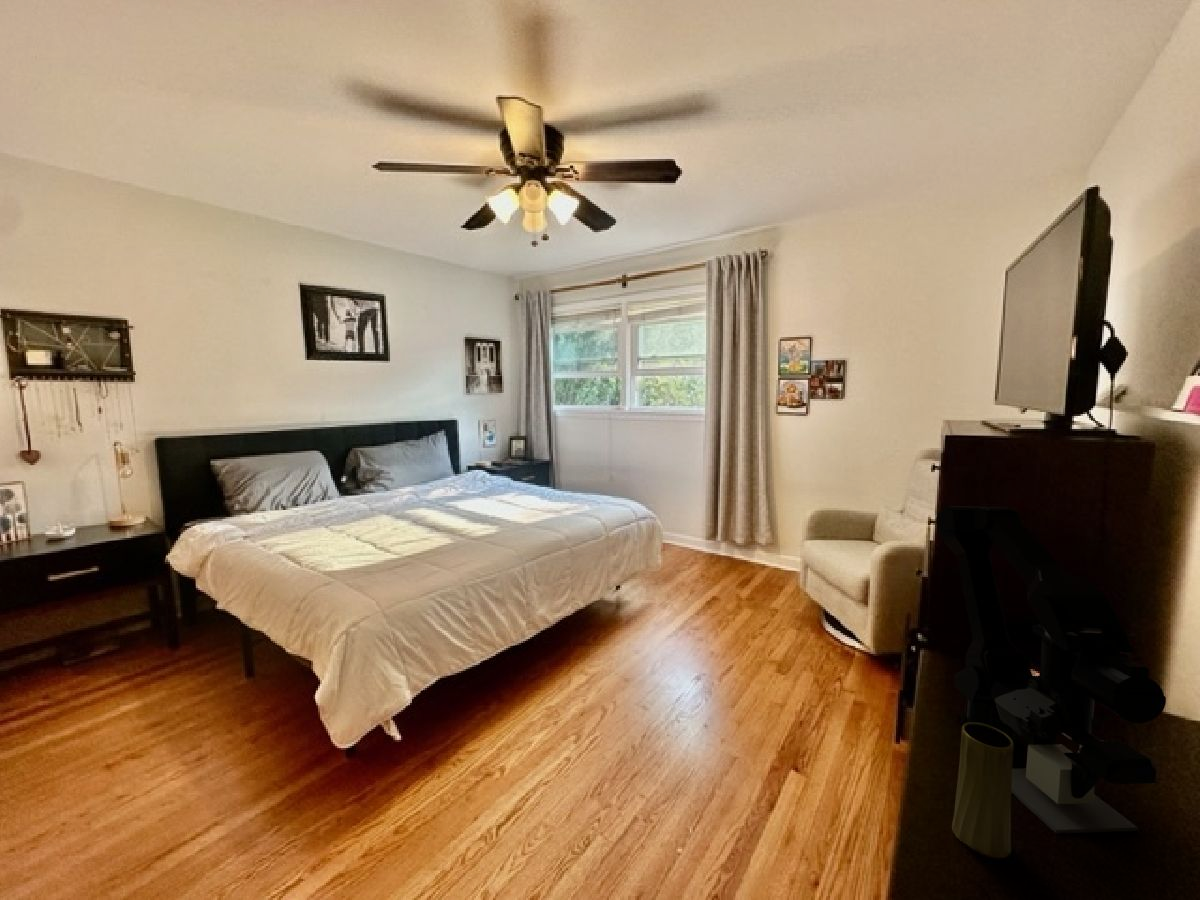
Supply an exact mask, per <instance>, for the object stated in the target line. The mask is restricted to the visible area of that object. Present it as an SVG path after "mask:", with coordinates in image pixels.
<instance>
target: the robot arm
mask: <svg viewBox="0 0 1200 900" xmlns="http://www.w3.org/2000/svg"><path fill="white" fill-rule="evenodd" d="M935 523H936V527H937V529H938V530H939V533H940V537H941V539H942V540H941V541H942V542H943V544H945V546H946V547H947V548H949V550H950V551H951V552H952V553H953V554H954V555H955V558H956V564H957V567H958V572H959V577H960V581H961V582H960V584H961V586H962V588H961V589H962V592H963V598H964V603H965V607H966V611H967V615H968V616H967V617H968V622H969V628H970V631H971V636H972V641H971V642H970V645H969V647H968V649H967V651H966V652H965V655H964V656H965V657H964V658H965V666H966V667H964V668H963V669H961V670H959V671H958V672H957V673H955V674H953V679H954V687H955V689H956V690H957V691H959V693H960V694H961V695H962V696H964V697H965V702H964V703H965V707H964V715H962V716H960V715H959V716H956V717H955V719H956V721H957V722H958V723H960V725H962V726H963V725H964V724H965V723H969V722H974V723H982V724H986V725H989V726H992V727H994V728H997V729H999V730H1001V731H1002V732H1004V733H1006V734H1007V735H1008V736H1009V737H1010V738H1011V739H1012V740H1013V743H1021V738H1020V737H1019V736H1021V737H1023V738H1025V739H1027V741H1028V745H1046V744H1056V742H1057V738H1058V736H1059V735H1060V734H1062V736H1063V735H1064V736H1065V737H1066V738H1067V739H1069V740H1070V741H1074V742H1076V743H1077V744H1078V745H1079V748H1078V749H1077V752H1073V753H1064V755H1065V756H1066V757H1067V758H1068V759H1069V760H1070V761H1071V763H1072V774H1071V790H1072V796H1073V797H1074V798H1083V797H1084V796H1085V795H1086V794H1087V793H1088V792H1089V791H1090V790H1091V789H1092V788H1093V787H1094V786H1095V787H1096V785H1097V784H1098V783H1099V782H1100V781H1101V780H1102V779H1103V781H1105V782H1108V783H1110V784H1113V785H1131V784H1133V785H1135V784H1156V778H1157V766H1156V764H1155V763H1154V762H1153V761H1152V760H1151V759H1150V758H1148V757H1147V756H1145V754H1142V753H1141V752H1139V751H1138V750H1136V749H1134V748H1133V747H1132V746H1129V745H1128V744H1126V743H1125V742H1123V741H1122V740H1105V739H1104V740H1103V739H1100V738H1098V737H1097V736H1095V735H1094V734H1092V731H1100V730H1102V725H1103V723H1102V722H1101V721H1100V720H1098V719H1096V718H1095V717H1094V714H1095V713H1094V712H1095V711H1094V710H1095V702H1098V703H1099V704H1101V706H1103V707H1104V708H1106V709H1108V710H1110V711H1111V712H1112V713H1114V714H1115V715H1117V716H1118V717H1120V718H1121V719H1123V720H1124V721H1127V722H1129V723H1133V724H1144V723H1148V722H1152V721H1153V720H1155V719H1157V718H1158V717H1159V716H1160V715H1161V714H1162V713H1163V711H1164V709H1165V708H1166V702H1167V697H1166V696H1165V694H1164V691H1163V688H1162V687H1161V686H1160V685H1159V684H1158V683H1157V681H1155V680H1153V679H1151V678H1149V673H1150V670H1149V668H1148V667H1147V666H1145V665H1143V664H1142V663H1139V662H1137V661H1133V660H1132V659H1129V658H1128V657H1126V656H1123V655H1121V654H1133V648H1132V646H1131V644H1130V642H1129V639H1130V638H1129V636H1128V634H1127V633H1126V631H1125V630H1124V628H1123V627H1122V625H1121V623H1120V620H1119V619H1118V617H1117V614H1116V612H1115V610H1114V608H1113V605H1112V603H1111V602H1110V601H1109V599H1108V598H1107V597H1106V596H1105V595H1104V594H1103V593H1102V592H1101V591H1100V590H1098V589H1097V588H1096V587H1094V585H1092V584H1091V583H1090V582H1089V581H1087V580H1085V579H1084V578H1081V577H1080V576H1078V575H1076V574H1074V573H1073V574H1072V573H1070V572H1069V571H1067V570H1065V568H1063V566H1061V565H1060V564H1059V563H1058V562H1057V560H1056V559H1055V558H1054V557H1053V556H1052V555H1051V554H1050V553H1049V552H1048V551H1047V550H1046V548H1045V547H1044V546H1043V544H1041V543H1040V541H1039V540H1038V539H1037V538H1036V537H1035V536H1034V534H1032V533H1031V531H1030V530H1029V529H1028V528H1027V527H1026V526H1025V525H1024V524H1023V522H1022V521H1021V520H1020V516H1019V514H1018V512H1017V511H1016V510H1015V509H1012V508H1010V507H1007V506H1006V507H1005V506H1004V507H1001V506H1000V507H997V506H996V507H994V506H991V507H990V506H981V505H980V506H979V505H978V506H977V505H976V506H975V505H973V506H972V505H970V506H969V505H968V506H967V505H945V506H944V507H943V508H942V509H941V510H940V511H939V512H938V513H937V515H936V519H935ZM994 546H996V547H997V549H998V550H999V552H1001V554H1002V555H1003V556H1004V558H1005V559H1006V560H1007V561H1008V562H1009V564H1010V566H1012V567H1011V568H1013V569H1014V570H1015V572H1016V573H1017V574H1018V576H1019V577H1020V578H1021V580H1022V581H1023V582H1024V584H1025V586H1026V587H1027V594H1026V600H1027V603H1028V604H1029V605H1028V606H1029V607H1030V609H1031V610H1032V611H1033V613H1034V615H1035V617H1036V618H1037V620H1038V622H1039V623H1037V624H1034V625H1032V626H1031V631H1032V632H1034V633H1035V634H1038V635H1039V636H1040V637H1041V638H1042V639H1041V649H1040V650H1041V651H1040V663H1039V665H1040V666H1039V675H1038V674H1037V675H1033V673H1032V670H1031V667H1030V666H1031V665H1030V658H1029V656H1028V655H1027V653H1026V652H1024V651H1019V650H1018V649H1017V648H1016V647H1015V646H1014V645H1013V644H1012V642H1011V641H1010V639H1009V635H1008V630H1007V626H1006V622H1005V617H1004V612H1003V608H1002V604H1001V598H1000V594H999V591H998V587H997V582H996V578H995V577H996V576H995V574H994V567H993V565H992V560H991V555H990V552H991V550H992V549H993V547H994ZM1076 633H1082V634H1083V633H1089V634H1100V633H1101V634H1103V636H1095V635H1094V636H1093V635H1092V636H1090V635H1078V634H1076ZM1014 731H1015V732H1016V734H1017V735H1016V734H1015V732H1014Z"/></svg>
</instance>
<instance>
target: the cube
mask: <svg viewBox="0 0 1200 900" xmlns="http://www.w3.org/2000/svg"><path fill="white" fill-rule="evenodd" d="M1064 753H1074V752H1073V751H1072V750H1071V749H1069V748H1068V747H1067V746H1065V745H1064V744H1062V743H1055V744H1046V745H1029V744H1028V745H1027V754H1026V755H1027V756H1026V767H1025V768H1026V778H1027V779H1029V780H1030V781H1031V782H1032V783H1033V784H1035V785H1036V786H1037V787H1038V788H1039V789H1040V790H1042V791H1043V792H1044V793H1045V794H1046V795H1048V796H1049V797H1050V798H1051V799H1052V800H1053V801H1055V802H1056V803H1057V804H1078V803H1093V800H1094V794H1095V789H1096V785H1095V786H1094V787H1093V788H1092V789H1091V790H1090V791H1089V792H1088V793H1087V794H1086V795H1085V796H1084V797H1083V798H1074V797H1073V796H1072V790H1071V774H1072V763H1071V761H1070V760H1069V759H1068V758H1067V757H1066V756H1065V755H1064Z"/></svg>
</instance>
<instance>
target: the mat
mask: <svg viewBox="0 0 1200 900" xmlns="http://www.w3.org/2000/svg"><path fill="white" fill-rule="evenodd" d="M1012 793H1013V794H1014V795H1015V796H1016V797H1017V800H1018V801H1020V803H1022V804H1023V805H1024V806H1025V807H1026V808H1027V809H1028V810H1030V811H1031V812H1032V814H1034V815H1035V816H1037V818H1039V820H1041V822H1043V824H1045V825H1046V826H1047V827H1049V828H1050V830H1051V831H1052V832H1054V833H1055V834H1077V833H1078V834H1082V833H1083V834H1085V833H1112V832H1137V831H1138V830H1139V829H1138V828H1139V827H1138V826H1137V825H1136V824H1134V823H1133V822H1131V820H1129V819H1127V817H1125V816H1124V815H1122V814H1121V813H1119V812H1118V811H1117V810H1116V809H1114V808H1113V807H1112V806H1111V805H1110V804H1108V803H1107V802H1105V801H1104V800H1102V799H1101V798H1100V797H1099V796H1098V795H1096V794H1095V793H1094V800H1093V803H1078V804H1057V803H1056V802H1055V801H1053V800H1052V799H1051V798H1050V797H1049V796H1048V795H1046V794H1045V793H1044V792H1043V791H1042V790H1040V789H1039V788H1038V787H1037V786H1036V785H1035V784H1033V783H1032V782H1031V781H1030V780H1029V779H1027V778H1026V767H1023V768H1012V786H1011V794H1012ZM1013 794H1012V795H1013ZM1014 795H1013V796H1014ZM1015 796H1014V797H1015ZM1016 797H1015V798H1016Z"/></svg>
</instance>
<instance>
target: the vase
mask: <svg viewBox="0 0 1200 900" xmlns="http://www.w3.org/2000/svg"><path fill="white" fill-rule="evenodd" d="M1014 745H1015V742H1013V740H1012V739H1011V738H1010V737H1009V736H1008V735H1007V734H1006V733H1004V732H1002V731H1001V730H999V729H997V728H994V727H992V726H989V725H986V724H982V723H974V722H969V723H965V724H964V725H962V727H961V739H960V751H959V763H958V766H959V767H958V774H957V783H956V791H955V802H954V810H953V811H954V812H953V819H952V823H951V829H952V833H953V834H955V835H954V836H955V838H956V839H957V838H958V839H959V840H960V841H962V842H963V843H965V844H967V845H968V846H970V847H971V848H973V849H976V850H978V851H980V852H982V853H984V854H986V855H990V856H993V857H994V856H995V857H998V858H999V857H1001V858H1002V857H1007V856H1008V855H1009V854H1010V853H1011V854H1012V844H1011V843H1012V842H1011V841H1012V840H1011V835H1012V833H1011V832H1012V831H1011V829H1012V827H1011V826H1012V812H1011V811H1012V808H1011V807H1012V806H1011V805H1012V793H1011V786H1012V769H1013V758H1014V748H1015V747H1014ZM958 839H957V840H958ZM959 840H958V841H959ZM960 841H959V842H960ZM1011 854H1010V855H1011ZM1010 855H1009V856H1010ZM1009 856H1008V857H1009ZM1008 857H1007V858H1008Z"/></svg>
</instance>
